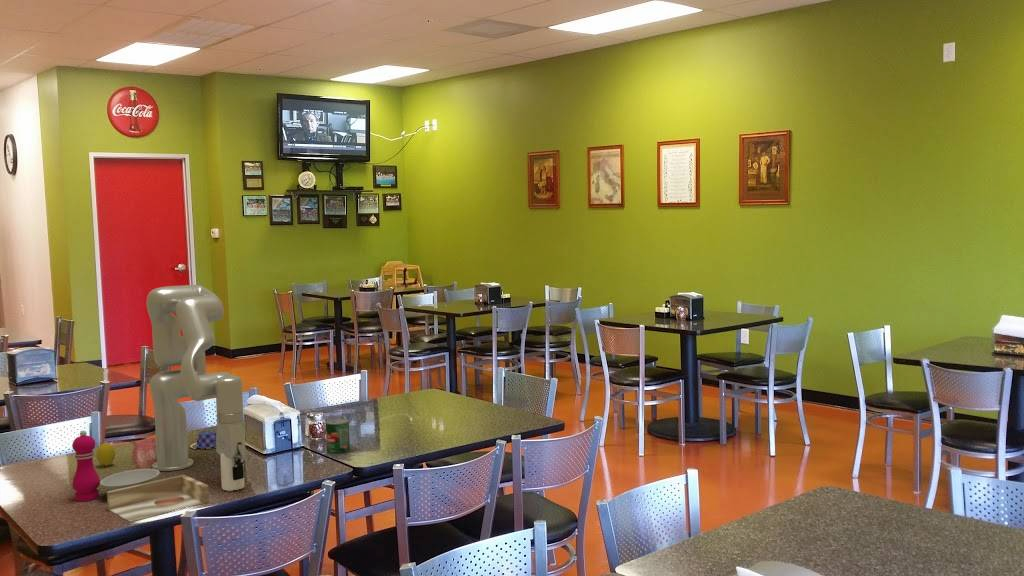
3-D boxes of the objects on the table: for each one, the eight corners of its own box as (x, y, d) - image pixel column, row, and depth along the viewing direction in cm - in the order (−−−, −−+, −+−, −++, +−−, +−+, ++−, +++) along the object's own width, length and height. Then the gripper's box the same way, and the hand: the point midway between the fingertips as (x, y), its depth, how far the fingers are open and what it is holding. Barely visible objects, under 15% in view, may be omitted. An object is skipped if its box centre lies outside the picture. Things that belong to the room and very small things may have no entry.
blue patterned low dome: (204, 452, 301) (203, 437, 301) (182, 448, 308) (182, 433, 307) (232, 444, 311) (231, 430, 311) (211, 440, 318) (210, 426, 317)
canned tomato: (353, 450, 299) (352, 418, 299) (344, 456, 292) (343, 424, 291) (332, 449, 301) (331, 418, 300) (322, 455, 294) (321, 423, 293)
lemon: (93, 467, 284) (92, 444, 283) (107, 463, 289) (105, 439, 288) (106, 469, 281) (104, 445, 281) (119, 464, 287) (118, 441, 286)
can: (237, 492, 254) (235, 452, 253) (217, 491, 256) (215, 451, 255) (248, 485, 261) (246, 446, 260) (228, 484, 262) (227, 445, 261)
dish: (137, 482, 266) (136, 466, 266) (172, 487, 260) (171, 471, 260) (88, 499, 250) (87, 482, 250) (124, 505, 244) (123, 488, 244)
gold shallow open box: (107, 509, 241) (106, 491, 241) (184, 490, 257) (183, 474, 256) (129, 522, 230) (128, 504, 229) (208, 502, 245) (208, 485, 245)
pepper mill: (82, 503, 247) (78, 434, 245) (68, 499, 251) (63, 431, 249) (105, 496, 253) (102, 429, 251) (91, 492, 257) (87, 426, 255)
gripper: (204, 415, 260) (207, 473, 261) (232, 424, 248) (234, 485, 249) (228, 411, 265) (230, 468, 267) (256, 420, 253) (258, 479, 254)
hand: (232, 476), depth 258 cm, fingers closed on can, 6 cm apart
